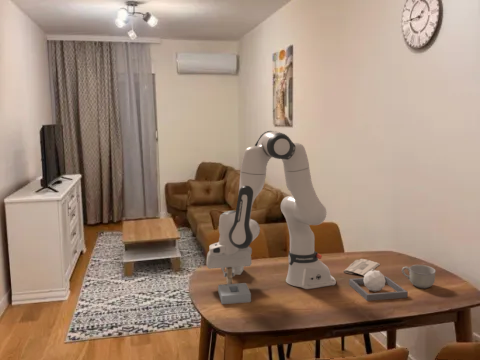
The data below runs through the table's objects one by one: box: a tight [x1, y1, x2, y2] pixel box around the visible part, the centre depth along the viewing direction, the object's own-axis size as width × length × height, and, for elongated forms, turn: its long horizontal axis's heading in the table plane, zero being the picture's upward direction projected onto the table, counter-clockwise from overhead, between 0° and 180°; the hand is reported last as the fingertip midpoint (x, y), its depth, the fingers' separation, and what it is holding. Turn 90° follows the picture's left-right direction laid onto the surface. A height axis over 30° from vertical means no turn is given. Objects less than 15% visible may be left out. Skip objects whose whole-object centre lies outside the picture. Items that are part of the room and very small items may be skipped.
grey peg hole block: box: [217, 282, 252, 305], centre depth 184 cm, size 12×12×4 cm
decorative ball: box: [363, 269, 386, 293], centre depth 191 cm, size 9×10×12 cm
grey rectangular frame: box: [348, 276, 409, 302], centre depth 190 cm, size 18×18×2 cm
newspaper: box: [343, 258, 381, 277], centre depth 218 cm, size 23×12×2 cm, turn 144°
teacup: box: [401, 264, 437, 289], centre depth 196 cm, size 14×11×8 cm
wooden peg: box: [225, 267, 233, 284], centre depth 198 cm, size 2×5×8 cm, turn 9°
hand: (229, 276), depth 198 cm, fingers closed on wooden peg, 2 cm apart
